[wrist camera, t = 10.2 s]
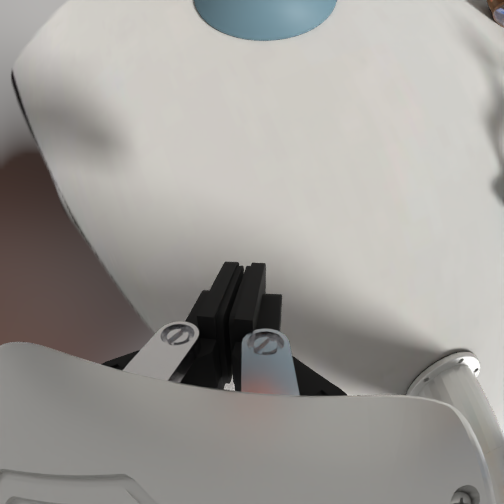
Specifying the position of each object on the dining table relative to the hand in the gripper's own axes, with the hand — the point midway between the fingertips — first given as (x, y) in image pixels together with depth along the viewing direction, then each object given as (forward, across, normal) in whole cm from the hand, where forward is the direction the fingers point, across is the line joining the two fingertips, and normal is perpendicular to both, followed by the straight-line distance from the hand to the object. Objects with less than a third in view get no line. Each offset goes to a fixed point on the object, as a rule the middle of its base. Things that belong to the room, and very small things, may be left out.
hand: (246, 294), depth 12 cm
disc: (+13, 0, -22) cm, 26 cm away
